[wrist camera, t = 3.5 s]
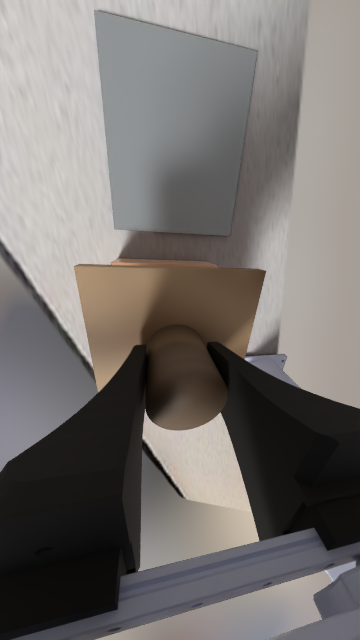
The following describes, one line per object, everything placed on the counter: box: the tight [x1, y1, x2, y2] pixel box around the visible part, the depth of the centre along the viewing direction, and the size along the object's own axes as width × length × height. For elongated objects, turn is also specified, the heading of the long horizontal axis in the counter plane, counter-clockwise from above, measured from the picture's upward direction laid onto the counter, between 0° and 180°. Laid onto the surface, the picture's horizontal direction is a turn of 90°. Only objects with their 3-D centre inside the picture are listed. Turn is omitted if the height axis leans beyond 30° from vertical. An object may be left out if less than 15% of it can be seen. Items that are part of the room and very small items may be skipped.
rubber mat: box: [94, 10, 257, 236], centre depth 14 cm, size 12×11×1 cm
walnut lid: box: [74, 264, 266, 430], centre depth 10 cm, size 10×10×5 cm
